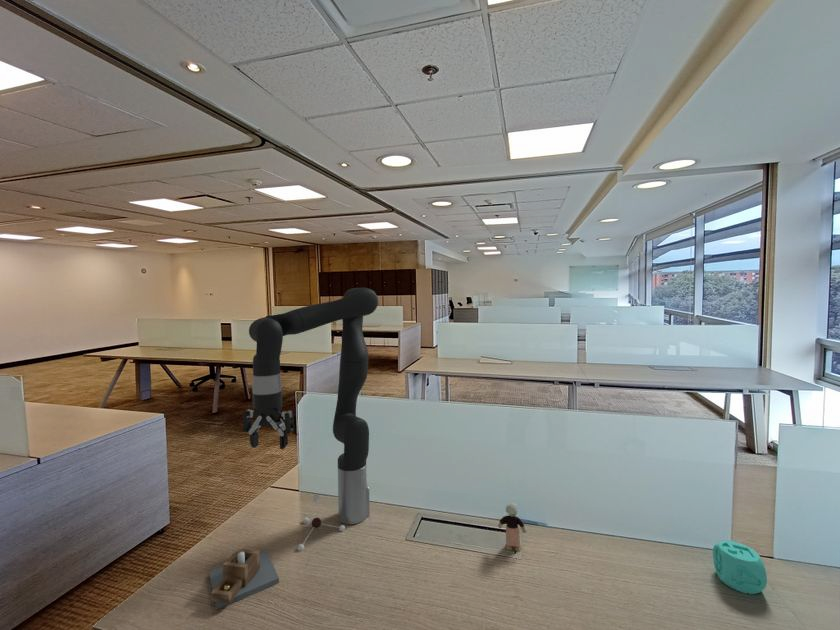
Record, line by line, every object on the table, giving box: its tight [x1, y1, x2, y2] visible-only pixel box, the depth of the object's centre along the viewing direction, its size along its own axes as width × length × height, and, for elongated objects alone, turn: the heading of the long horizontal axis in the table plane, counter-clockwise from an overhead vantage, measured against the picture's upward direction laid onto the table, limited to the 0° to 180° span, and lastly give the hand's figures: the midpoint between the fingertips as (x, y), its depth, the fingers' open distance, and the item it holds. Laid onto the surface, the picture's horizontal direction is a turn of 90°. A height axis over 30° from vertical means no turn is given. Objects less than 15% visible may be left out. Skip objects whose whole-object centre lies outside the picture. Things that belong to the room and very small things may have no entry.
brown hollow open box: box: [210, 548, 260, 603], centre depth 91 cm, size 6×11×5 cm, turn 171°
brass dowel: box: [224, 584, 230, 591], centre depth 88 cm, size 1×1×2 cm
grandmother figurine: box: [497, 502, 527, 552], centre depth 105 cm, size 8×4×13 cm, turn 84°
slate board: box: [208, 549, 280, 611], centre depth 94 cm, size 14×13×7 cm
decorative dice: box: [712, 540, 768, 595], centre depth 92 cm, size 8×8×8 cm
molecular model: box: [297, 493, 346, 552], centre depth 113 cm, size 13×15×13 cm
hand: (269, 447), depth 103 cm, fingers open, 8 cm apart
